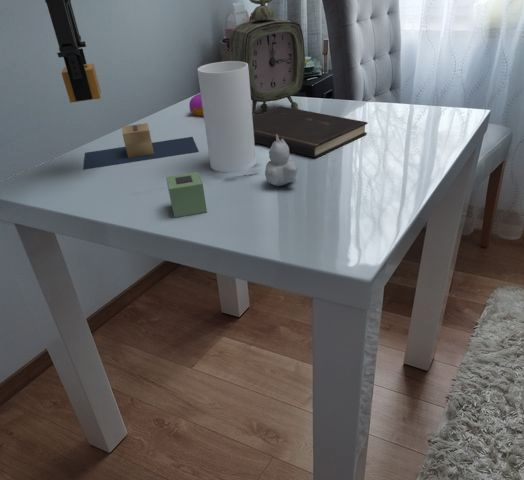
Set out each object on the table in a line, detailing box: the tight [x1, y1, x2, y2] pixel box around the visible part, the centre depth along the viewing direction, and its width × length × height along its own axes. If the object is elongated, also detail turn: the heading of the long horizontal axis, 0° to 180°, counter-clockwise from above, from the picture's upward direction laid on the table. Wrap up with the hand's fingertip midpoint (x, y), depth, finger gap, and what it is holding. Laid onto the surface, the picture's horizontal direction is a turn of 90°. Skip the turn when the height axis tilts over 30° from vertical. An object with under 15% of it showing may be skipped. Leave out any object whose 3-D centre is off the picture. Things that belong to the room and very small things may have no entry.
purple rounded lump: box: [189, 93, 204, 117], centre depth 117 cm, size 10×10×5 cm
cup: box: [197, 60, 257, 173], centre depth 86 cm, size 8×8×16 cm
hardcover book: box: [252, 105, 369, 159], centre depth 101 cm, size 16×23×2 cm
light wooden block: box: [121, 122, 154, 158], centre depth 98 cm, size 5×5×5 cm
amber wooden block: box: [61, 62, 102, 103], centre depth 86 cm, size 5×5×5 cm
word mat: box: [82, 136, 200, 171], centre depth 100 cm, size 22×10×1 cm, turn 103°
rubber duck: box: [264, 134, 298, 187], centre depth 81 cm, size 5×7×8 cm
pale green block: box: [165, 171, 208, 218], centre depth 77 cm, size 5×5×5 cm
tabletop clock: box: [228, 0, 306, 117], centre depth 108 cm, size 14×9×25 cm, turn 118°
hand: (85, 95), depth 87 cm, fingers closed on amber wooden block, 5 cm apart
